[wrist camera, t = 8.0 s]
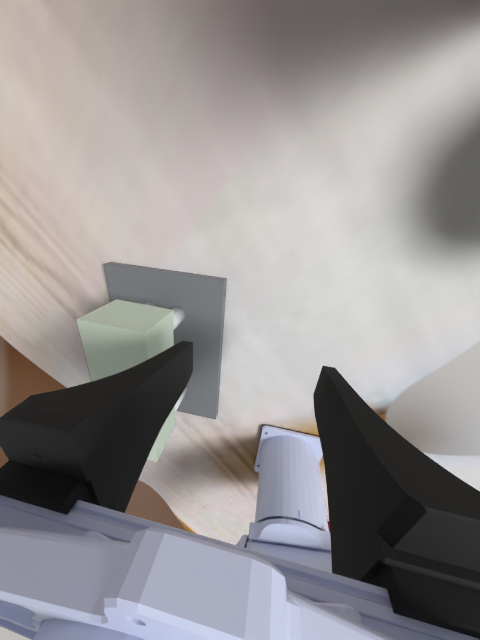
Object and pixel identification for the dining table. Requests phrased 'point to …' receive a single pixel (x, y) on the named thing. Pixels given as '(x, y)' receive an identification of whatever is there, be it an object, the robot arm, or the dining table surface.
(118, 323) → the pale green block
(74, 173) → the dining table surface
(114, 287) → the peg stand
